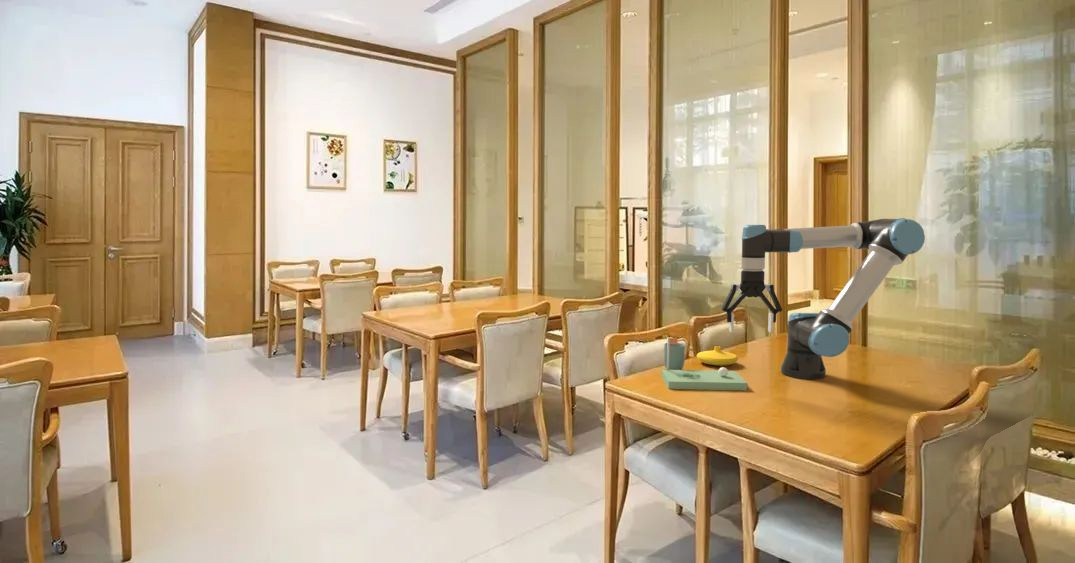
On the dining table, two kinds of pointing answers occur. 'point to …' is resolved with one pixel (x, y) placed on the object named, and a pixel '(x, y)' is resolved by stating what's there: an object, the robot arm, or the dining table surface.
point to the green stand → (700, 377)
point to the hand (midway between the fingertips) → (750, 331)
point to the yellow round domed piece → (717, 357)
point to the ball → (723, 371)
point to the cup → (675, 356)
